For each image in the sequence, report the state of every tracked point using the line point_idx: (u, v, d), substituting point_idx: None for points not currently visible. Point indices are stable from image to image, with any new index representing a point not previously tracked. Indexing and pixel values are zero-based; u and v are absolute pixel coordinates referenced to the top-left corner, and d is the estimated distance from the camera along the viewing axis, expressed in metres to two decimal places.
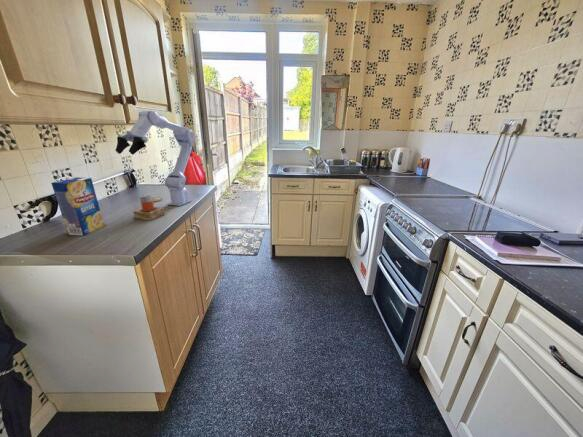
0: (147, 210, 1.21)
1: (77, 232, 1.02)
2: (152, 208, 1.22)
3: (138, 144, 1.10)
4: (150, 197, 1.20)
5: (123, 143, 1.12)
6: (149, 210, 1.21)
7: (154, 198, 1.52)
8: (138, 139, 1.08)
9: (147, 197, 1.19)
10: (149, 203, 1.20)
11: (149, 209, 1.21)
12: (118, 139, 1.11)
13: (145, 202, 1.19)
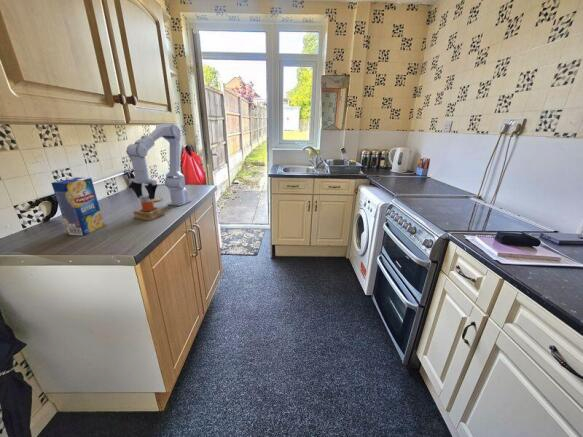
0: (147, 210, 1.21)
1: (77, 232, 1.02)
2: (152, 208, 1.22)
3: (151, 188, 1.18)
4: None
5: (137, 187, 1.20)
6: (149, 210, 1.21)
7: (154, 198, 1.52)
8: (150, 187, 1.15)
9: (147, 197, 1.19)
10: (149, 203, 1.20)
11: (149, 209, 1.21)
12: (132, 187, 1.18)
13: (145, 202, 1.19)
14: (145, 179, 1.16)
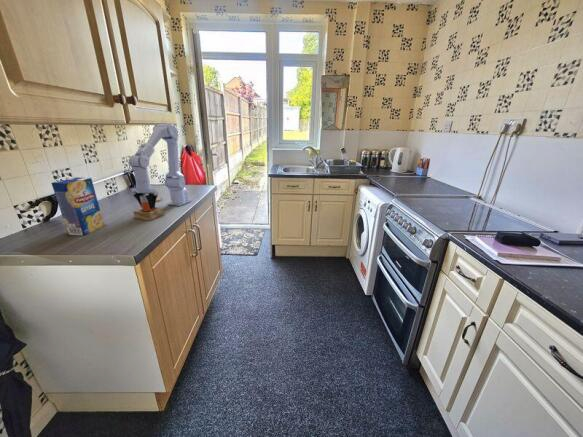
0: (147, 210, 1.21)
1: (77, 232, 1.02)
2: None
3: (152, 197, 1.20)
4: None
5: None
6: (149, 210, 1.21)
7: None
8: (150, 197, 1.17)
9: None
10: None
11: (150, 209, 1.21)
12: (135, 197, 1.20)
13: (146, 202, 1.19)
14: (147, 189, 1.18)
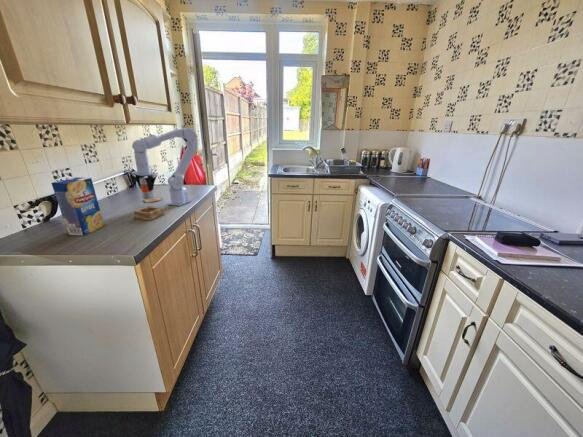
0: (146, 191, 1.31)
1: (77, 232, 1.02)
2: (151, 190, 1.33)
3: (150, 180, 1.31)
4: None
5: None
6: (148, 192, 1.32)
7: (154, 198, 1.52)
8: (149, 179, 1.28)
9: None
10: None
11: (148, 190, 1.32)
12: (135, 179, 1.30)
13: (145, 184, 1.30)
14: (146, 172, 1.28)
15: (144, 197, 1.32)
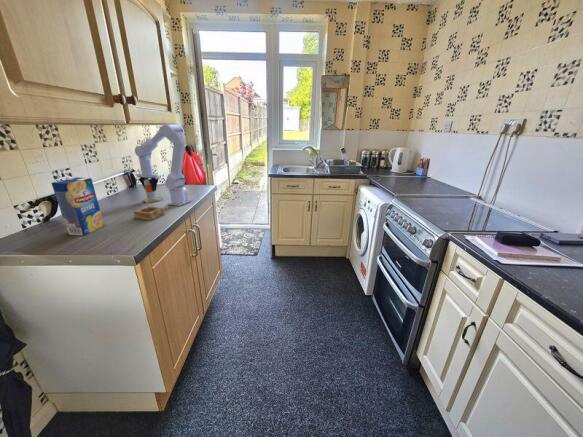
0: (150, 192, 1.46)
1: (77, 232, 1.02)
2: None
3: (154, 181, 1.45)
4: None
5: None
6: (151, 192, 1.46)
7: (154, 198, 1.52)
8: (152, 181, 1.42)
9: None
10: None
11: (152, 191, 1.46)
12: (140, 181, 1.45)
13: (148, 185, 1.44)
14: (150, 174, 1.43)
15: (148, 197, 1.47)
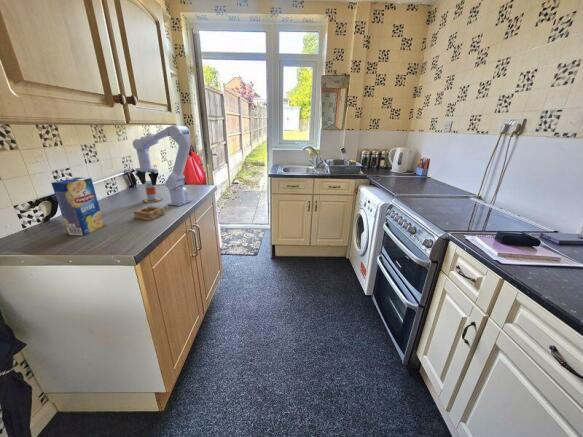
0: (150, 194, 1.46)
1: (77, 232, 1.02)
2: (155, 193, 1.47)
3: (153, 175, 1.41)
4: None
5: (142, 175, 1.43)
6: (152, 194, 1.46)
7: None
8: (152, 175, 1.39)
9: (151, 183, 1.44)
10: (152, 189, 1.45)
11: (152, 193, 1.46)
12: (137, 175, 1.42)
13: (149, 188, 1.44)
14: (148, 168, 1.39)
15: (149, 199, 1.47)
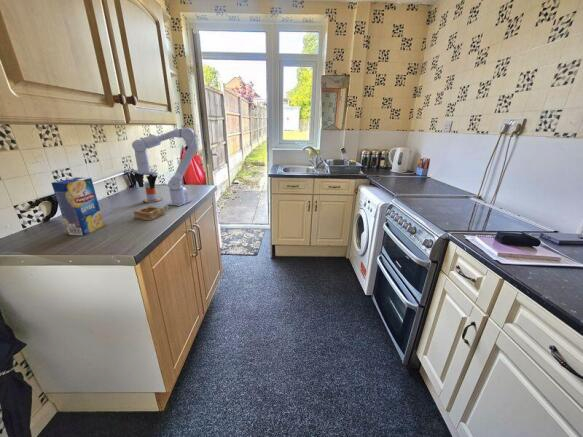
0: (150, 194, 1.46)
1: (77, 232, 1.02)
2: (154, 193, 1.48)
3: (152, 178, 1.34)
4: None
5: (139, 178, 1.36)
6: (152, 194, 1.46)
7: None
8: (150, 178, 1.32)
9: None
10: (152, 189, 1.46)
11: (152, 193, 1.46)
12: (134, 177, 1.34)
13: (149, 187, 1.45)
14: (146, 170, 1.32)
15: (149, 199, 1.47)
